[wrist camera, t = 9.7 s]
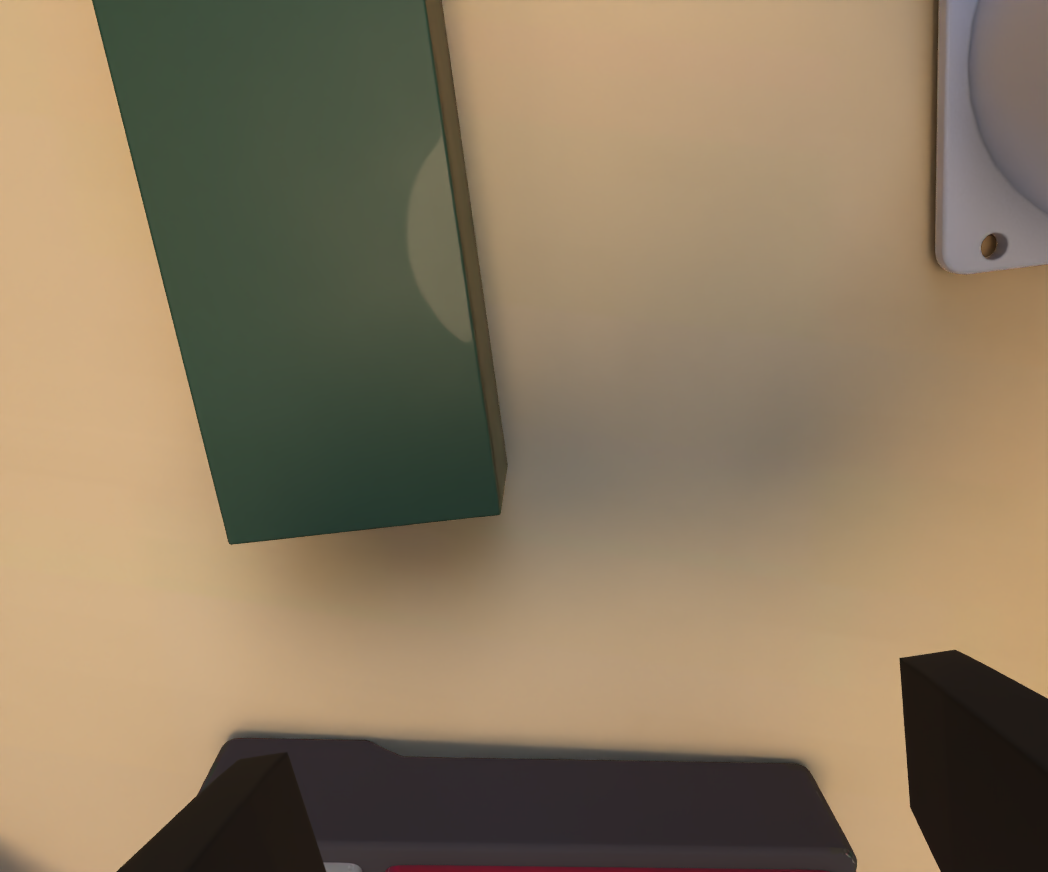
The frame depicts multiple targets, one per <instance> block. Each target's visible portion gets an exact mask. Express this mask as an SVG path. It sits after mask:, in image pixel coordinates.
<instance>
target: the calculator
mask: <svg viewBox="0 0 1048 872" xmlns="http://www.w3.org/2000/svg"><path fill="white" fill-rule="evenodd" d="M283 752H288V755H289V758H290V761H291V765H292V768H293V771H294V774H295V777H296V780H297V783H298V786H299V789H300V792H301V795H302V798H303V801H304V805H305V808H306V811H307V814H308V817H309V820H310V823H311V826H312V829H313V832H314V835H315V838H316V841H317V845H318V848H319V851H320V854H321V857H322V860H323V863H324V866H325V869H326V872H856V868H857V859H856V856H855V854H854V852H853V850H852V848H851V846H850V844H849V842H848V840H847V838H846V837H845V835H844V833H843V831H842V829H841V827H840V826H839V824H838V822H837V820H836V818H835V816H834V815H833V813H832V811H831V809H830V807H829V805H828V804H827V802H826V800H825V798H824V796H823V794H822V792H821V791H820V789H819V787H818V785H817V783H816V781H815V780H814V778H813V776H812V775H811V773H810V771H809V770H808V769H807V768H806V767H804V766H802V765H799V764H788V763H731V762H673V761H615V760H557V759H500V758H442V757H404V756H400V755H397V754H395V753H393V752H391V751H389V750H387V749H384V748H382V747H380V746H378V745H376V744H374V743H372V742H370V741H366V740H320V739H265V738H238V739H232V740H230V741H228V742H226V743H225V744H224V745H223V747H222V748H221V750H220V752H219V754H218V756H217V758H216V760H215V762H214V763H213V765H212V767H211V769H210V771H209V773H208V775H207V777H206V779H205V781H204V783H203V785H202V787H201V789H200V791H199V793H198V795H199V794H200V793H201V792H202V791H203V790H204V789H205V788H206V787H207V786H208V785H209V784H211V783H212V782H213V781H214V780H215V779H216V778H217V777H218V776H219V775H221V774H222V773H223V772H224V771H225V770H226V769H228V768H229V767H230V766H231V765H233V764H234V763H235V762H236V761H237V760H239V759H243V758H250V757H256V756H263V755H270V754H276V753H283Z"/></svg>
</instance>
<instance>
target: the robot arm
mask: <svg viewBox="0 0 1048 872" xmlns="http://www.w3.org/2000/svg"><path fill="white" fill-rule="evenodd" d="M990 234H993V235H994V236H995V237H996V241H997V246H996V249H995V251H994V252H993V253H992V254H991V255H990V256H989V257H986V258H985V257H984V256H983V255H982V252H981V244H982V241H983V240H984V239H985V238H986V237H987V235H990ZM935 254H936V259H937V262H938V263H939V265H940V266H941V267H942V268H943V269H944V270H946V271H948V272H950V273H956V274H974V273H982V272H990V271H998V270H1006V269H1014V268H1022V267H1030V266H1038V265H1046V264H1048V0H939V16H938V84H937V152H936V221H935ZM900 671H901V685H902V699H903V713H904V726H905V740H906V754H907V768H908V782H909V796H910V808H911V810H912V812H913V814H914V816H915V818H916V820H917V823H918V825H919V827H920V829H921V831H922V833H923V835H924V837H925V840H926V842H927V844H928V846H929V848H930V850H931V852H932V854H933V856H934V859H935V861H936V863H937V865H938V867H939V869H940V871H941V872H1048V699H1047V698H1045V697H1044V696H1042V695H1040V694H1038V693H1036V692H1034V691H1033V690H1031V689H1029V688H1027V687H1025V686H1023V685H1022V684H1020V683H1018V682H1016V681H1014V680H1012V679H1010V678H1009V677H1007V676H1005V675H1003V674H1001V673H999V672H998V671H996V670H994V669H992V668H990V667H988V666H986V665H984V664H983V663H981V662H979V661H977V660H975V659H973V658H971V657H969V656H967V655H965V654H963V653H961V652H959V651H957V650H950V651H944V652H937V653H931V654H924V655H918V656H911V657H905V658H900ZM117 872H326V869H325V866H324V863H323V860H322V857H321V854H320V851H319V848H318V845H317V841H316V838H315V835H314V832H313V829H312V826H311V823H310V820H309V817H308V814H307V811H306V808H305V805H304V801H303V798H302V795H301V792H300V789H299V786H298V783H297V780H296V777H295V774H294V771H293V768H292V765H291V761H290V758H289V755H288V752H283V753H276V754H270V755H263V756H256V757H250V758H243V759H239V760H237V761H236V762H235V763H234V764H233V765H231V766H230V767H229V768H228V769H226V770H225V771H224V772H223V773H222V774H221V775H219V776H218V777H217V778H216V779H215V780H214V781H213V782H212V783H211V784H209V785H208V786H207V787H206V788H205V789H204V790H203V791H202V792H201V793H200V794H199V795H197V796H196V797H195V798H194V799H193V800H192V801H191V802H190V803H189V804H188V805H187V806H186V807H185V808H184V809H182V810H181V811H180V812H179V813H178V814H177V815H176V816H175V817H174V818H173V819H172V820H171V821H170V822H169V823H168V824H167V825H166V826H165V827H163V828H162V829H161V830H160V831H159V832H158V833H157V834H156V835H155V836H154V837H153V838H152V839H151V840H150V841H149V842H148V843H147V844H145V845H144V846H143V847H142V848H141V849H140V850H139V851H138V852H137V853H136V854H135V855H134V856H133V857H132V858H131V859H129V860H128V861H127V862H126V863H125V864H124V865H123V866H122V867H121V868H120V869H119V870H118V871H117Z"/></svg>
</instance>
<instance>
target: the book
mask: <svg viewBox="0 0 1048 872" xmlns="http://www.w3.org/2000/svg"><path fill="white" fill-rule="evenodd" d="M92 2H93V6H94V10H95V14H96V18H97V22H98V26H99V30H100V34H101V37H102V41H103V45H104V49H105V53H106V57H107V61H108V65H109V69H110V73H111V77H112V81H113V85H114V89H115V93H116V97H117V101H118V105H119V109H120V113H121V117H122V121H123V125H124V129H125V133H126V137H127V141H128V145H129V149H130V153H131V157H132V161H133V165H134V169H135V173H136V177H137V181H138V184H139V188H140V192H141V196H142V200H143V204H144V208H145V212H146V216H147V220H148V224H149V228H150V232H151V236H152V240H153V244H154V248H155V252H156V256H157V260H158V264H159V268H160V272H161V276H162V280H163V284H164V288H165V292H166V296H167V300H168V304H169V308H170V312H171V316H172V320H173V324H174V328H175V332H176V335H177V339H178V343H179V347H180V351H181V355H182V359H183V363H184V367H185V371H186V375H187V379H188V383H189V387H190V391H191V395H192V399H193V403H194V407H195V411H196V415H197V419H198V423H199V427H200V431H201V435H202V439H203V443H204V447H205V451H206V455H207V459H208V463H209V467H210V471H211V475H212V479H213V482H214V486H215V490H216V494H217V498H218V502H219V506H220V510H221V514H222V518H223V522H224V526H225V530H226V534H227V538H228V542H229V544H231V545H232V544H241V543H250V542H259V541H268V540H277V539H286V538H295V537H304V536H313V535H322V534H331V533H340V532H349V531H358V530H367V529H376V528H385V527H394V526H403V525H412V524H420V523H429V522H438V521H447V520H456V519H465V518H474V517H485V516H494V515H500V513H501V507H502V500H503V493H504V486H505V479H506V472H507V458H506V451H505V444H504V437H503V430H502V423H501V416H500V409H499V402H498V395H497V388H496V380H495V373H494V366H493V359H492V352H491V345H490V338H489V331H488V324H487V317H486V310H485V303H484V296H483V289H482V282H481V275H480V268H479V261H478V254H477V246H476V239H475V232H474V225H473V218H472V211H471V204H470V197H469V190H468V183H467V176H466V169H465V162H464V155H463V148H462V141H461V134H460V127H459V120H458V113H457V105H456V98H455V91H454V84H453V77H452V70H451V63H450V56H449V49H448V42H447V35H446V28H445V21H444V14H443V7H442V0H92Z"/></svg>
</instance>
